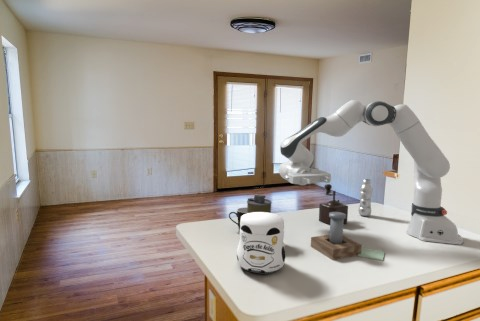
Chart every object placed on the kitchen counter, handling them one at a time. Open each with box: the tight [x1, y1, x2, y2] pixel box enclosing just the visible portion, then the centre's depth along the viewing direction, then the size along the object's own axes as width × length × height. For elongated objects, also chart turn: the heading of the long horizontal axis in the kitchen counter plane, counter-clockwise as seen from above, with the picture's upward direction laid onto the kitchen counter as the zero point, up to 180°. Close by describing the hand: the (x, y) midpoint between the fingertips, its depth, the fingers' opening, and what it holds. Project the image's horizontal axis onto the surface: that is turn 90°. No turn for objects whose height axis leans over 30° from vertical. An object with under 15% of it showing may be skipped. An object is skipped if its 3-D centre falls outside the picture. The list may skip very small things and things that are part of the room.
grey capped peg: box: [329, 212, 346, 245], centre depth 137 cm, size 6×6×15 cm
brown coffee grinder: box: [318, 183, 349, 226], centre depth 175 cm, size 16×11×18 cm
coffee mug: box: [228, 207, 247, 233], centre depth 159 cm, size 12×9×10 cm
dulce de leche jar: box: [236, 212, 286, 274], centre depth 121 cm, size 17×17×18 cm
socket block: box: [310, 233, 363, 261], centre depth 138 cm, size 14×14×4 cm
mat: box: [357, 247, 385, 262], centre depth 135 cm, size 9×9×1 cm
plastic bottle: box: [358, 178, 374, 217], centre depth 185 cm, size 6×7×20 cm
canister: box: [246, 193, 273, 213], centre depth 146 cm, size 11×10×20 cm
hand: (320, 181), depth 145 cm, fingers open, 8 cm apart
